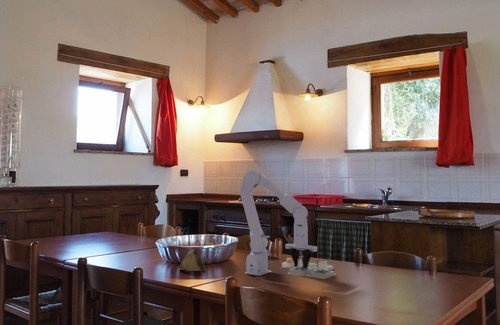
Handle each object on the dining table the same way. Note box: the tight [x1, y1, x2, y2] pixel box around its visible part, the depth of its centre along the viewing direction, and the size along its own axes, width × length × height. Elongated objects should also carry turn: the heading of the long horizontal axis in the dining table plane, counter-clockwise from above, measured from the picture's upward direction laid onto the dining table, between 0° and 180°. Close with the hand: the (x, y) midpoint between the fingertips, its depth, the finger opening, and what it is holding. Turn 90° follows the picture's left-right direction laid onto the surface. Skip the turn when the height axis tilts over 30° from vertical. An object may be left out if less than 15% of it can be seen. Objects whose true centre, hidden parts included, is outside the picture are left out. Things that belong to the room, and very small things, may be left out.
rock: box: [178, 248, 206, 272], centre depth 204 cm, size 11×9×10 cm
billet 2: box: [316, 259, 328, 274], centre depth 188 cm, size 4×4×6 cm
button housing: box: [281, 261, 294, 269], centre depth 207 cm, size 5×5×2 cm
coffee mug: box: [246, 235, 271, 252], centre depth 241 cm, size 12×9×10 cm
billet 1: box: [297, 256, 307, 271], centre depth 195 cm, size 4×4×6 cm
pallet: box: [287, 267, 337, 280], centre depth 191 cm, size 10×18×2 cm, turn 52°
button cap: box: [286, 257, 293, 264], centre depth 207 cm, size 3×3×3 cm
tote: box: [293, 262, 334, 271], centre depth 202 cm, size 8×15×2 cm, turn 52°
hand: (301, 267), depth 194 cm, fingers closed on billet 1, 4 cm apart
